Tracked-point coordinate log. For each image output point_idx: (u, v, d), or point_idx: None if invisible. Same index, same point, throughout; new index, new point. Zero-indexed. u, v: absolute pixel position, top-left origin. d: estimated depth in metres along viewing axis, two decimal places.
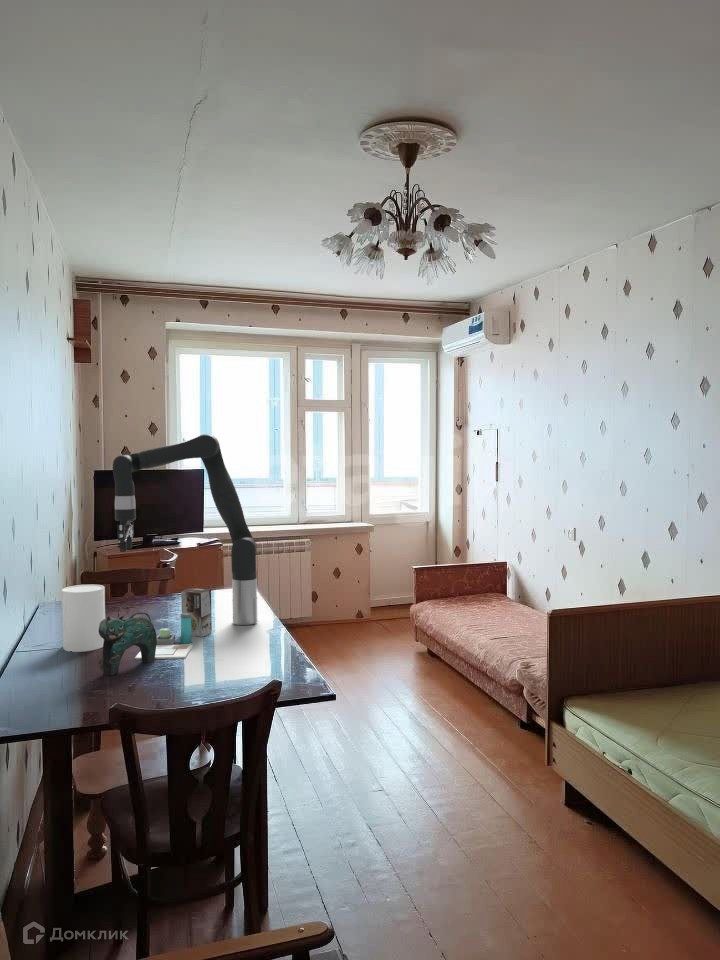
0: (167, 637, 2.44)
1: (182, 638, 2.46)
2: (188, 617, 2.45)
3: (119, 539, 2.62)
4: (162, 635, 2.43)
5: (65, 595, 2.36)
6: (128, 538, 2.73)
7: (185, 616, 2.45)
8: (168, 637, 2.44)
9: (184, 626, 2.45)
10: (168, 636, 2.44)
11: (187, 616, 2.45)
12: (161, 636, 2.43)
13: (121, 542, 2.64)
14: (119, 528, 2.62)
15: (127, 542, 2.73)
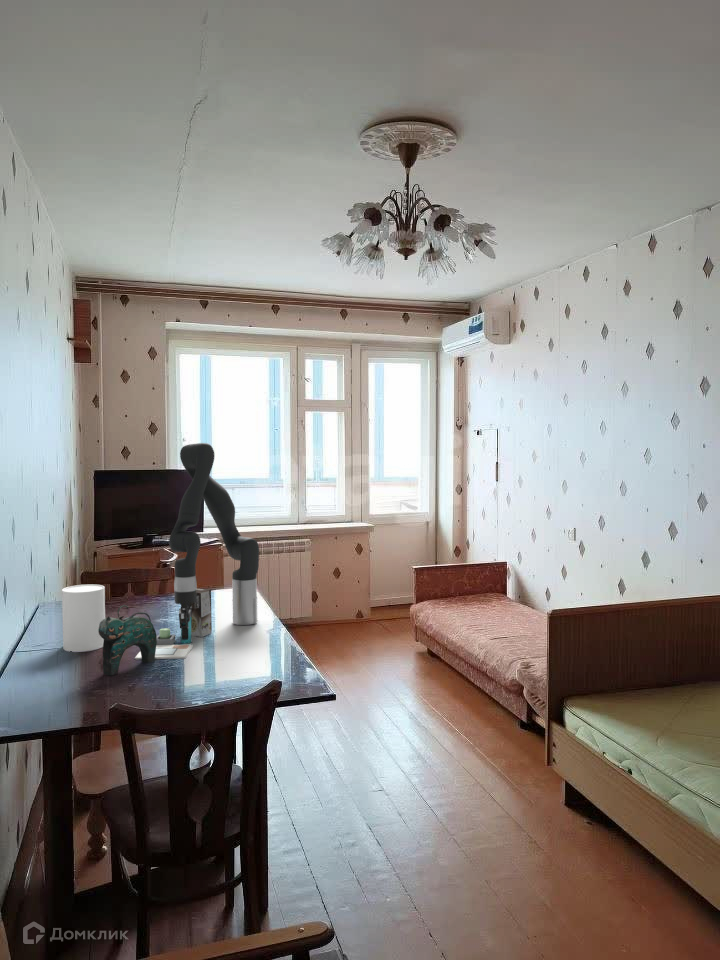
0: (167, 637, 2.44)
1: None
2: None
3: (181, 627, 2.42)
4: (162, 635, 2.43)
5: (65, 595, 2.36)
6: None
7: None
8: (168, 637, 2.44)
9: None
10: (168, 636, 2.44)
11: None
12: (161, 636, 2.43)
13: (183, 629, 2.44)
14: (181, 617, 2.40)
15: None
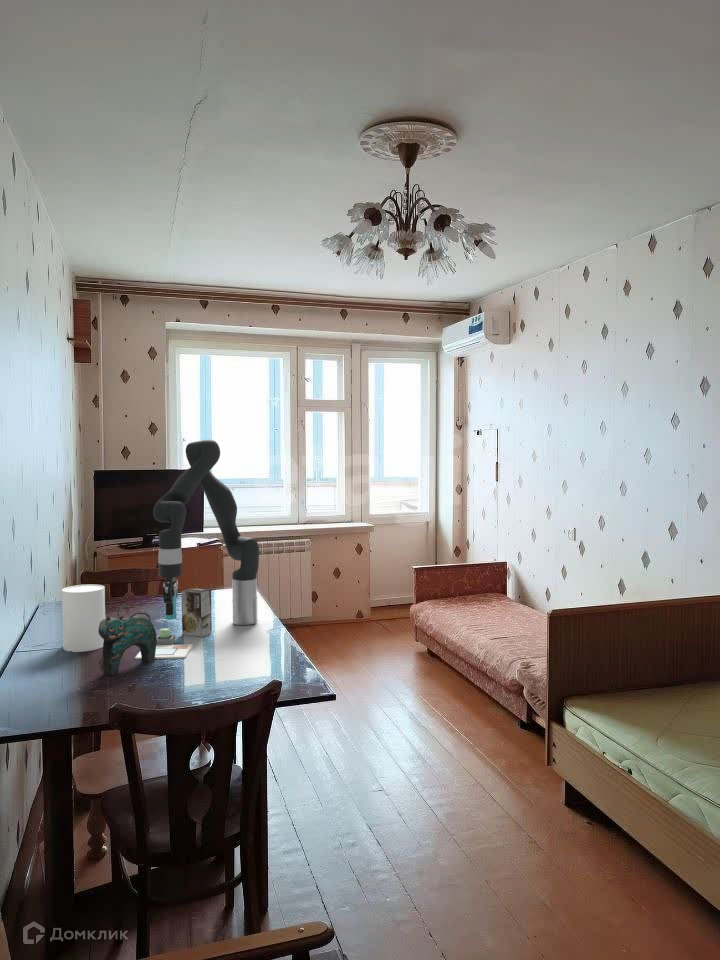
0: (167, 637, 2.44)
1: None
2: None
3: (166, 601, 2.28)
4: (162, 635, 2.43)
5: (65, 595, 2.36)
6: None
7: None
8: (168, 637, 2.44)
9: None
10: (168, 636, 2.44)
11: None
12: (161, 636, 2.43)
13: (168, 604, 2.30)
14: (165, 591, 2.27)
15: None
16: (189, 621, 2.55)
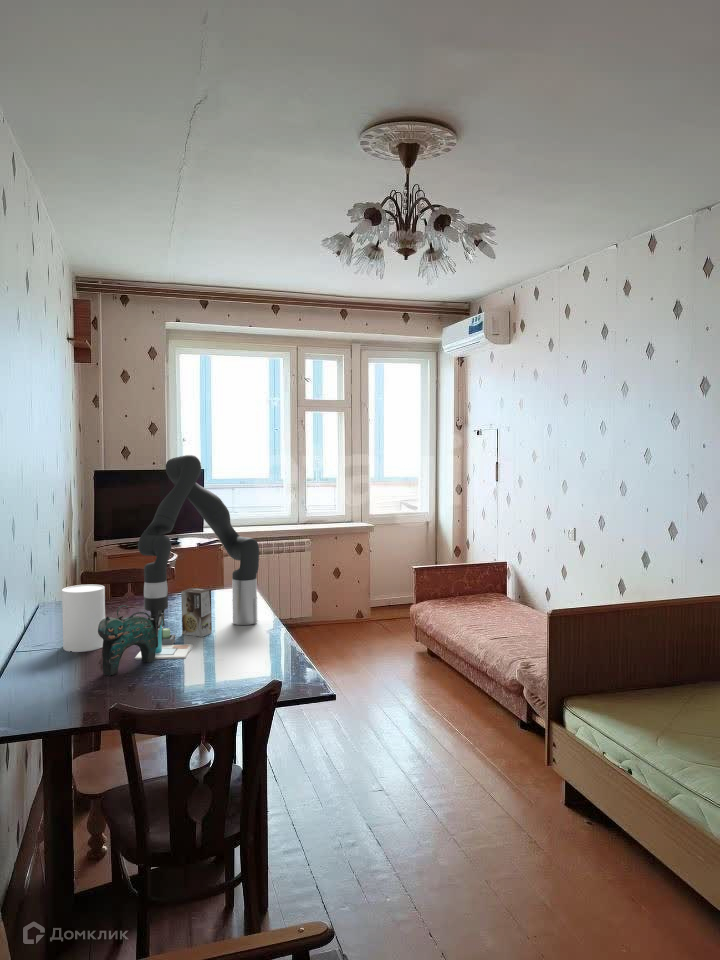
0: (167, 637, 2.44)
1: None
2: None
3: None
4: None
5: (65, 595, 2.36)
6: None
7: None
8: (168, 637, 2.44)
9: None
10: (168, 636, 2.44)
11: None
12: None
13: None
14: None
15: None
16: (189, 621, 2.55)
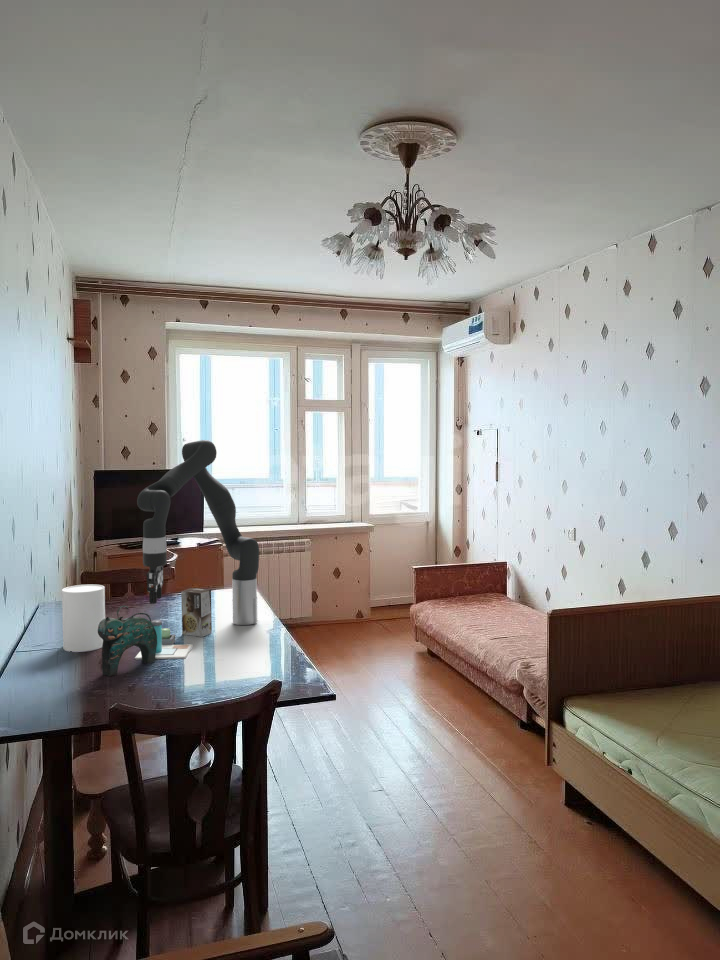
0: (167, 637, 2.44)
1: None
2: (158, 625, 2.32)
3: (149, 589, 2.26)
4: (162, 635, 2.43)
5: (65, 595, 2.36)
6: (157, 586, 2.36)
7: (155, 624, 2.31)
8: (168, 637, 2.44)
9: None
10: (168, 636, 2.44)
11: (157, 624, 2.32)
12: None
13: (151, 592, 2.28)
14: (149, 577, 2.26)
15: None
16: (189, 621, 2.55)
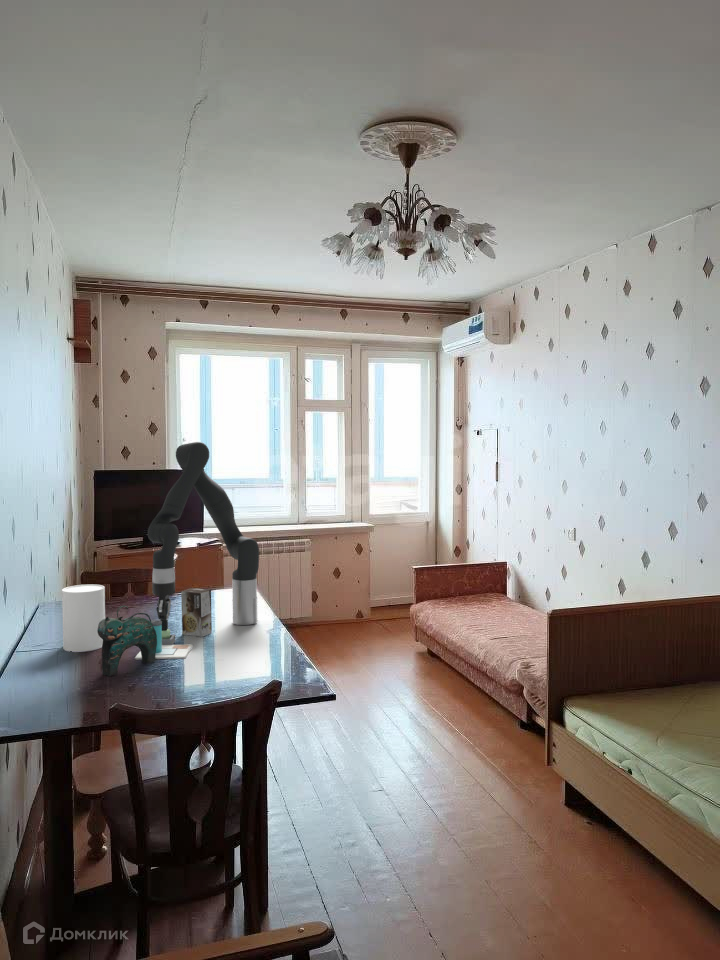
0: (167, 638, 2.44)
1: None
2: (158, 625, 2.32)
3: (160, 618, 2.42)
4: (162, 635, 2.43)
5: (65, 595, 2.36)
6: None
7: (155, 624, 2.31)
8: (168, 638, 2.44)
9: None
10: (168, 637, 2.44)
11: (157, 624, 2.32)
12: None
13: (162, 620, 2.43)
14: (159, 611, 2.39)
15: None
16: (189, 621, 2.55)
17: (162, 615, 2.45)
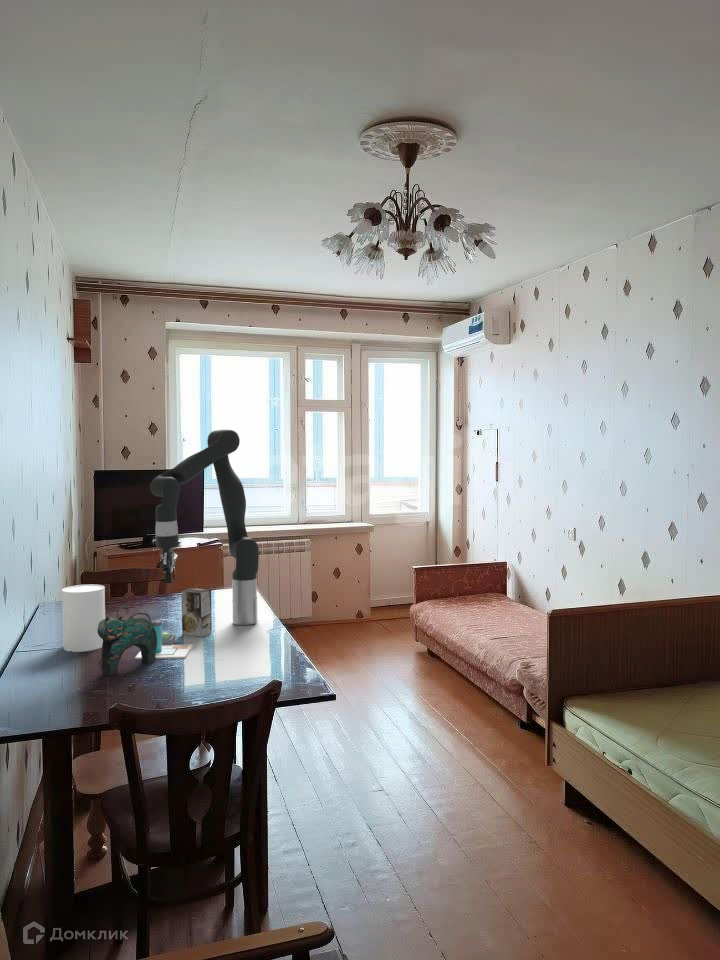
0: None
1: None
2: (158, 625, 2.32)
3: (165, 570, 2.45)
4: None
5: (65, 595, 2.36)
6: None
7: (155, 624, 2.31)
8: None
9: None
10: None
11: (157, 624, 2.32)
12: None
13: (167, 573, 2.46)
14: (163, 563, 2.42)
15: None
16: (189, 621, 2.55)
17: None
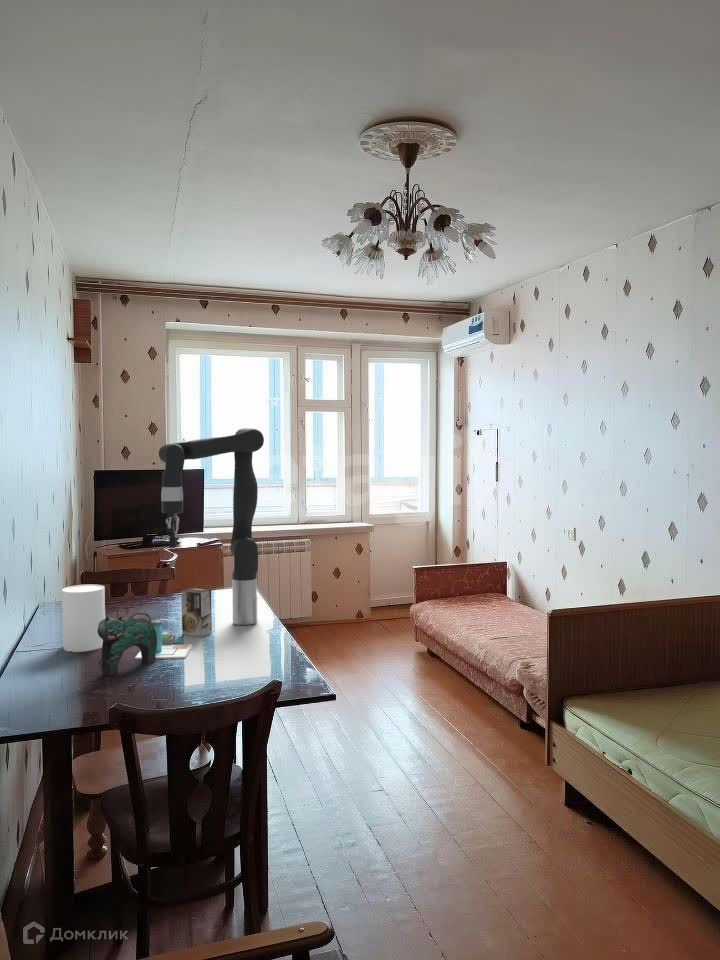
0: None
1: None
2: (158, 625, 2.32)
3: (169, 534, 2.52)
4: None
5: (65, 595, 2.36)
6: None
7: (155, 624, 2.31)
8: None
9: None
10: None
11: (157, 624, 2.32)
12: None
13: (171, 537, 2.53)
14: (168, 527, 2.49)
15: None
16: (189, 621, 2.55)
17: (171, 533, 2.55)
